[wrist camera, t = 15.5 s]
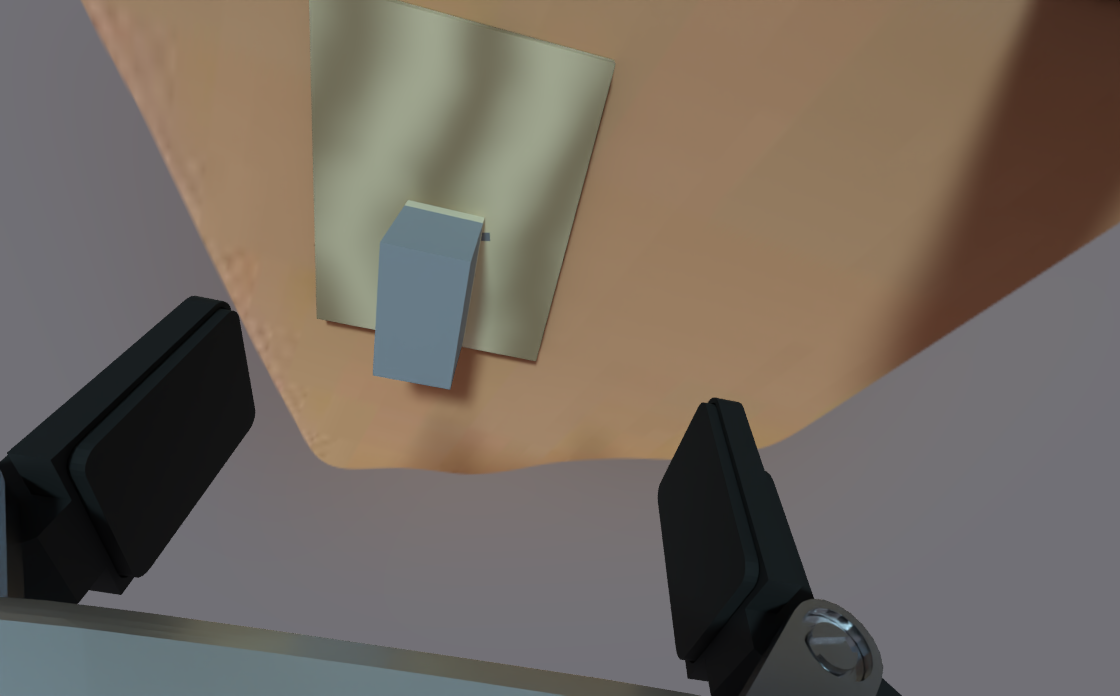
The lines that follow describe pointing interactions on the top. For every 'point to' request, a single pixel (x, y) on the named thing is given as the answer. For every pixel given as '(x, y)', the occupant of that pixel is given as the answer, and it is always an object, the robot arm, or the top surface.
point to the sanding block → (425, 293)
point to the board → (448, 154)
